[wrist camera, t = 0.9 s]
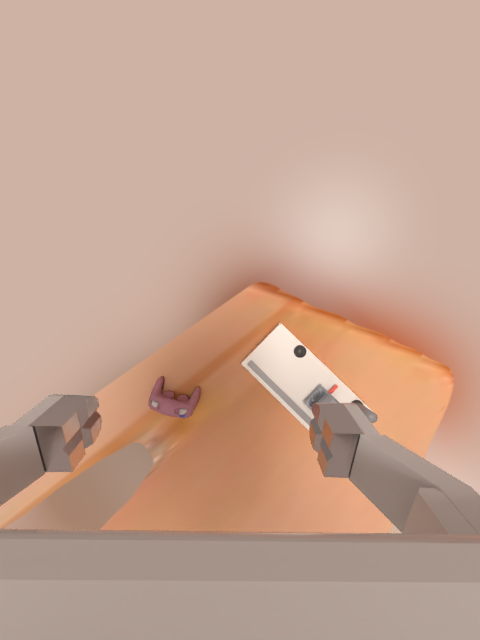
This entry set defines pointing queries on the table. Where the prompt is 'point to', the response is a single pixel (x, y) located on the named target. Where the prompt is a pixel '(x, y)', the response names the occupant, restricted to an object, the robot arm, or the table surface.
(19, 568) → the robot arm
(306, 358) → the gauge board
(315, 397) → the leg
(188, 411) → the video game controller
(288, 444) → the table surface
